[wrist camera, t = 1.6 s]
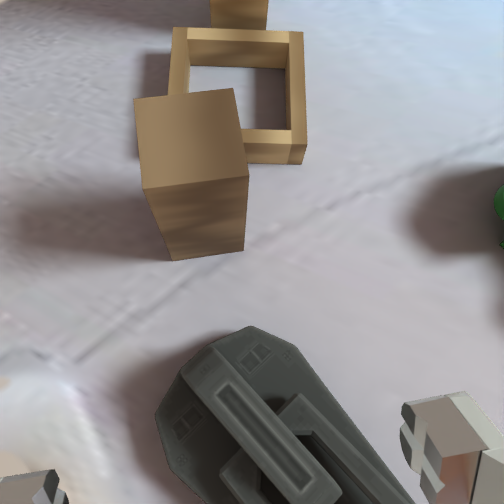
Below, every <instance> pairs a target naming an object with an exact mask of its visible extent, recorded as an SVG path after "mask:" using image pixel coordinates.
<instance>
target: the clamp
mask: <svg viewBox="0 0 504 504" xmlns="http://www.w3.org/2000/svg"><path fill="white" fill-rule="evenodd" d="M494 207H495V210H496V212H497V214H498V216H499V217H500V218H501V219H502V220H503V221H504V184H503V185H502V186H501V187H500V188H499V189H498V191H497V192H496V194H495V197H494ZM499 245H500V246H501V247H502V248H503V249H504V240H503V241H502V242H501V243H500V244H499Z"/></svg>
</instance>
